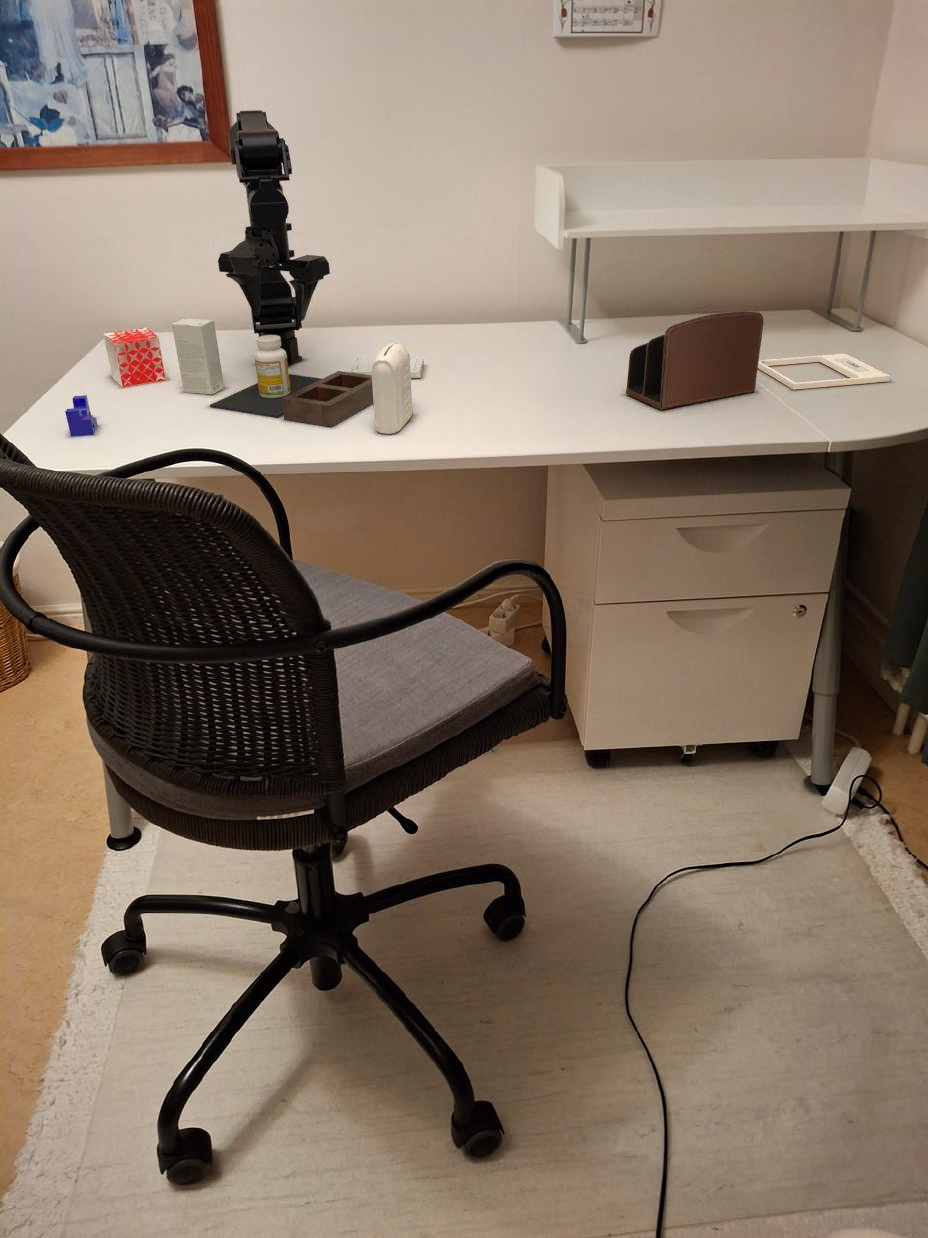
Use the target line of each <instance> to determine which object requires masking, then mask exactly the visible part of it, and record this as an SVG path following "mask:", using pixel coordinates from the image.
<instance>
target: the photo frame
mask: <svg viewBox="0 0 928 1238" xmlns="http://www.w3.org/2000/svg"><path fill="white" fill-rule="evenodd" d="M819 362H820V363H821V364H823V365H825V366H828V367H829V368H831V369H833V370H835V371H836V372H838V373H840V374H842V375H844V376H845V377H847V378H836V379H825V380H811V381H802V382H801V381H799V382H796V381H793V380H792V379H791V378H789V377H787V376H785V375H784V374H782V373H780V372H779V371H778V370H775V369H773V368H772V367H770V366H782V365H796V364H805V363H806V364H808V363H819ZM758 369H759V370H760V371H762V372H763V373H765V374H766V375H768V376H770V377H772V378H773V379H775V380H776V381H779V382H780V383H782V384H783V385H785V386H787V387H788V388H790V389H791V390H802V389H803V390H804V389H814V388H815V389H816V388H827V387H840V386H849V385H851V386H852V385H861V384H862V385H863V384H873V383H874V384H875V383H886V382H890V380H891V379H890V378H891V375H889V374H887V373H886V372H884V371H881V370H879V369H877V368H875V367H873V366H871V365H869V364H867V363H865V362H863V361H861V360H859V359H857V358H855V357H853V356H851V355H849V354H847V353H835V354H823V355H810V356H797V357H785V358H784V357H783V358H774V359H773V358H772V359H762V360H761V359H759V362H758Z"/></svg>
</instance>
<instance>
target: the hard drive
mask: <svg viewBox="0 0 928 1238" xmlns="http://www.w3.org/2000/svg"><path fill="white" fill-rule="evenodd" d="M374 359H375V358H357V359H356V361H355V363H354V365H353V368H352V370H351V373H358V374H366V375H372V364H373V361H374ZM424 367H425V360H424V358H410V371H411V379H421V378H422V374H423V372H424Z"/></svg>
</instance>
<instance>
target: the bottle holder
mask: <svg viewBox="0 0 928 1238" xmlns="http://www.w3.org/2000/svg"><path fill="white" fill-rule="evenodd" d="M371 405H374V402H373V387H372V375H366V374H358V373H352V371H350V372H349V371H342V370H336V371H335V372H332V373H331V374H329V375H327V376H325V377H323V378H321V380H319V381H317V382H315V383H313V384H311V385H309V386H307V387H305V388H303V389H301V390H299V391H297V392H295V393H293V394H290V395H288V396H286V397H284V398H282V407H283V420H284V421H289V422H296V423H301V424H307V425H313V426H321V427H327V428H333V427H334V426H337V425H338V424H340V423H342V422H344V421H345V420H347V419H349V418H351V417H352V416H353V415H356V414H358V413H360V412H361V411H362V410H363V411H364V409H366V408H368V407H370V406H371Z"/></svg>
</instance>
